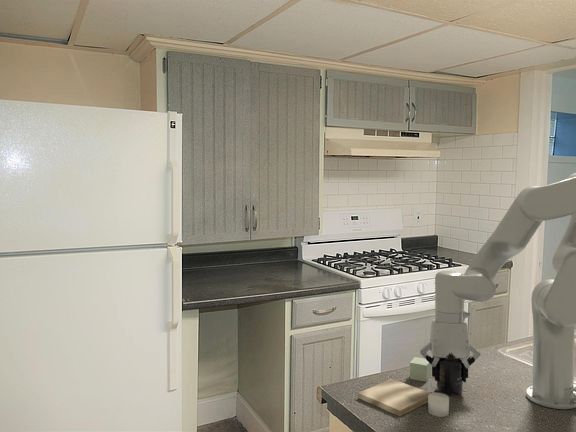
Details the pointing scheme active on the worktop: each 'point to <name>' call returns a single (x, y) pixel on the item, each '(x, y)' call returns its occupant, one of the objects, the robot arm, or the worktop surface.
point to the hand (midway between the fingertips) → (449, 379)
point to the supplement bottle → (450, 375)
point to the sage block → (420, 369)
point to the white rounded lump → (438, 404)
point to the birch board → (395, 396)
